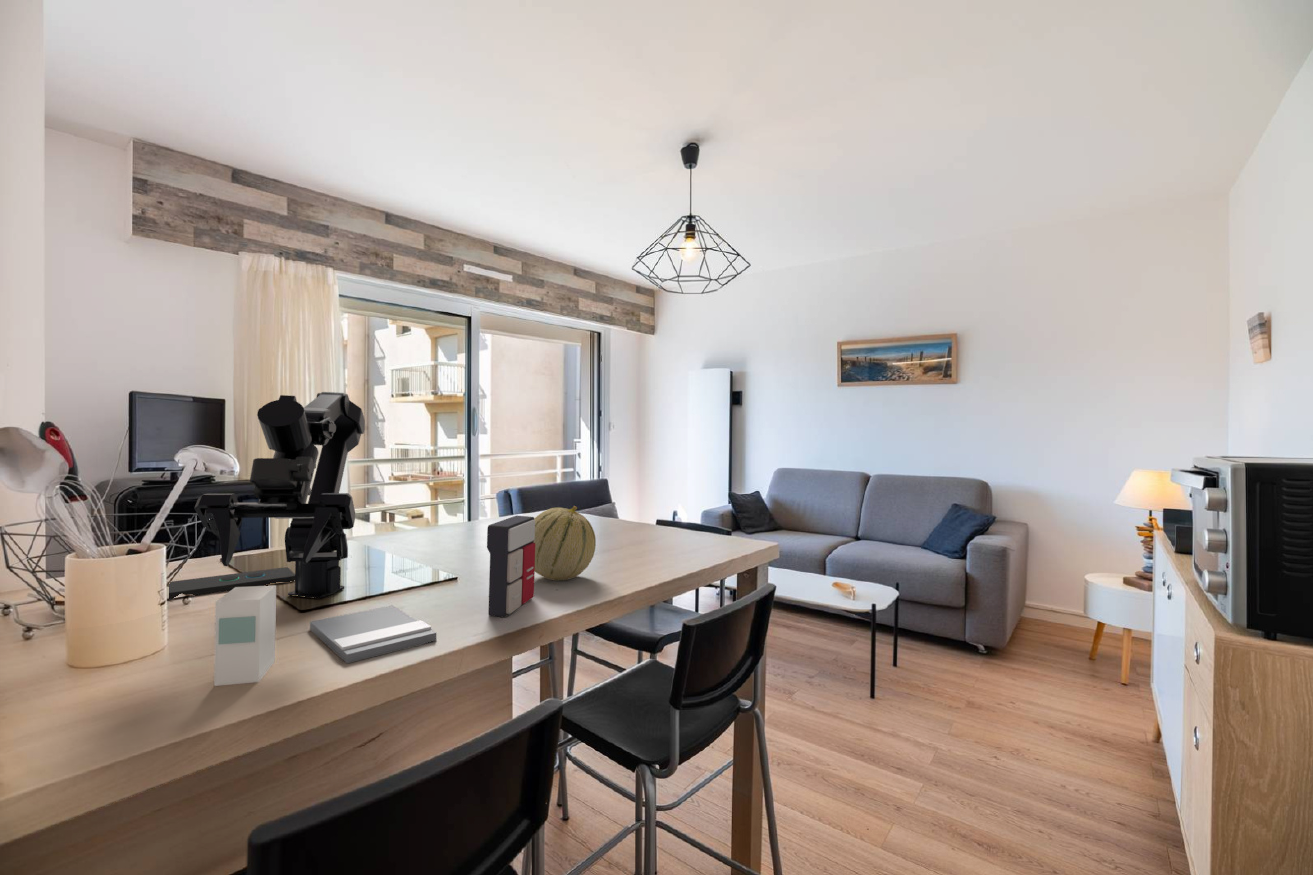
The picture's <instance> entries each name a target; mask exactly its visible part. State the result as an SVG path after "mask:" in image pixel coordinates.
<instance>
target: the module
mask: <svg viewBox="0 0 1313 875" xmlns="http://www.w3.org/2000/svg"><path fill="white" fill-rule="evenodd" d="M276 607H277V584H275V585H268V586H251V587H235V588H234V589H232V590H231V591H227V592H226V593H225V594H224V595H223V596H221V597H220V598H218V599H217V600H216V601H215V610H214V611H215V612H214V613H215V615H214V617H215V619H214V621H215V622H214V632H215V633H214V676H213V678H214V679H213V680H214V682H213V685H214V687H218V686H219V687H220V686H228V685H231V686H232V685H241V684H252V683H259V682H260V681H261V680H262V678H263V677H264V676H265V674H266V673H267V672H268V671H269V669H271V667H273V664H274V663H275V661H276V658H275V657H276V617H277V616H276V613H277V612H276V611H277V610H276V609H277V608H276Z"/></svg>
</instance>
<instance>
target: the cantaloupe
mask: <svg viewBox="0 0 1313 875" xmlns="http://www.w3.org/2000/svg"><path fill="white" fill-rule="evenodd" d="M577 509H578V507H577V506H575V505H573V507H571V508H570V509H569V508H565V507H551V508H548V509H546V510H544V511H542V512H541V513H539V514H538V515H536V517H534V520H535V539H534V543H535V573H536V574H537V575H539V576H541V577H542V578H544V579H547V580H548V579H549V580H550V581H566V580H571V579H574V578H576V577H578V576H579V575H581V574H582V573H583V572H584V571H585V570H586V569H587V568H588V567H589V565H590V563H591V562H592V560H593V558H594V555H595V552H596V534H595V530H594V528H593V525H592V524H591V522H590V521H589V519H587V518H586V517H585V516H584V515H583V514H581V513H579V512H578V511H576V510H577Z"/></svg>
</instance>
